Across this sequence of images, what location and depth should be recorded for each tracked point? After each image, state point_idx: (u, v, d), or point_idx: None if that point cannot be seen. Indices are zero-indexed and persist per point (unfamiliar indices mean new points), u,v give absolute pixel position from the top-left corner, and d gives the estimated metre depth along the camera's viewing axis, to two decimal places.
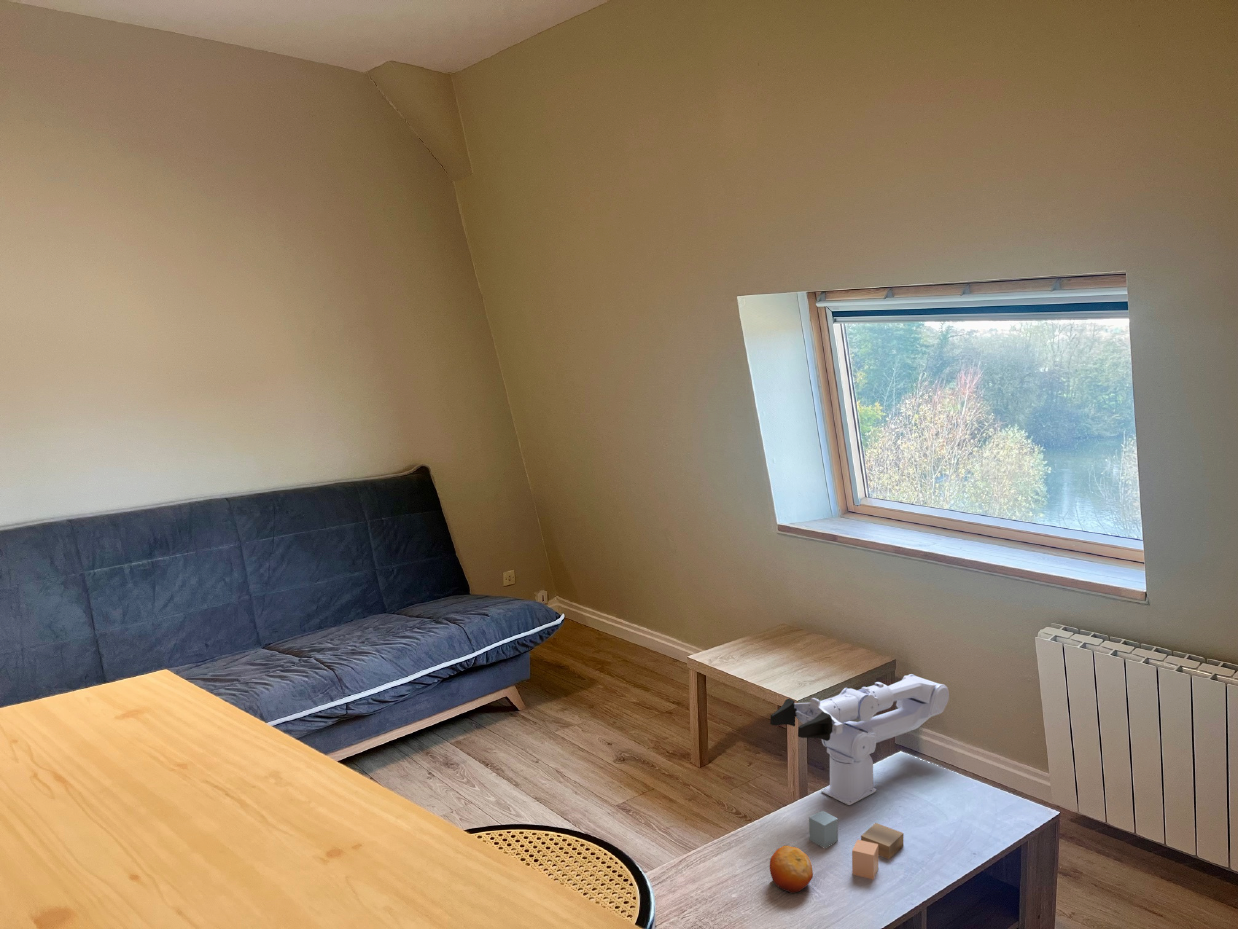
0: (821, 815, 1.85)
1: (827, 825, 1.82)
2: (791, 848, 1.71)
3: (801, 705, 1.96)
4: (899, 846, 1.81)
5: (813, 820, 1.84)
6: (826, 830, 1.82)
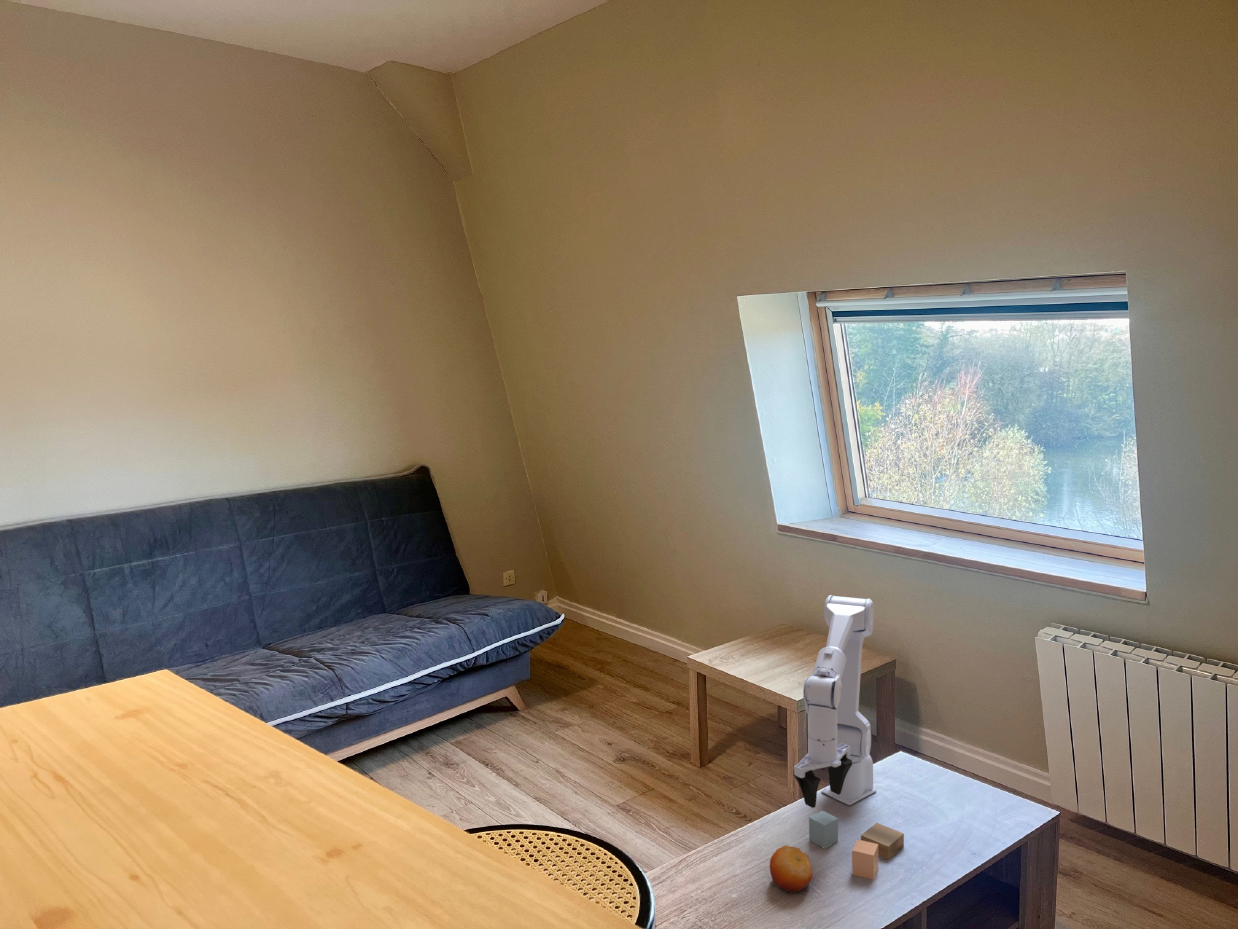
0: (821, 815, 1.85)
1: (827, 825, 1.82)
2: (791, 848, 1.71)
3: None
4: (899, 846, 1.81)
5: (813, 820, 1.84)
6: (826, 830, 1.82)
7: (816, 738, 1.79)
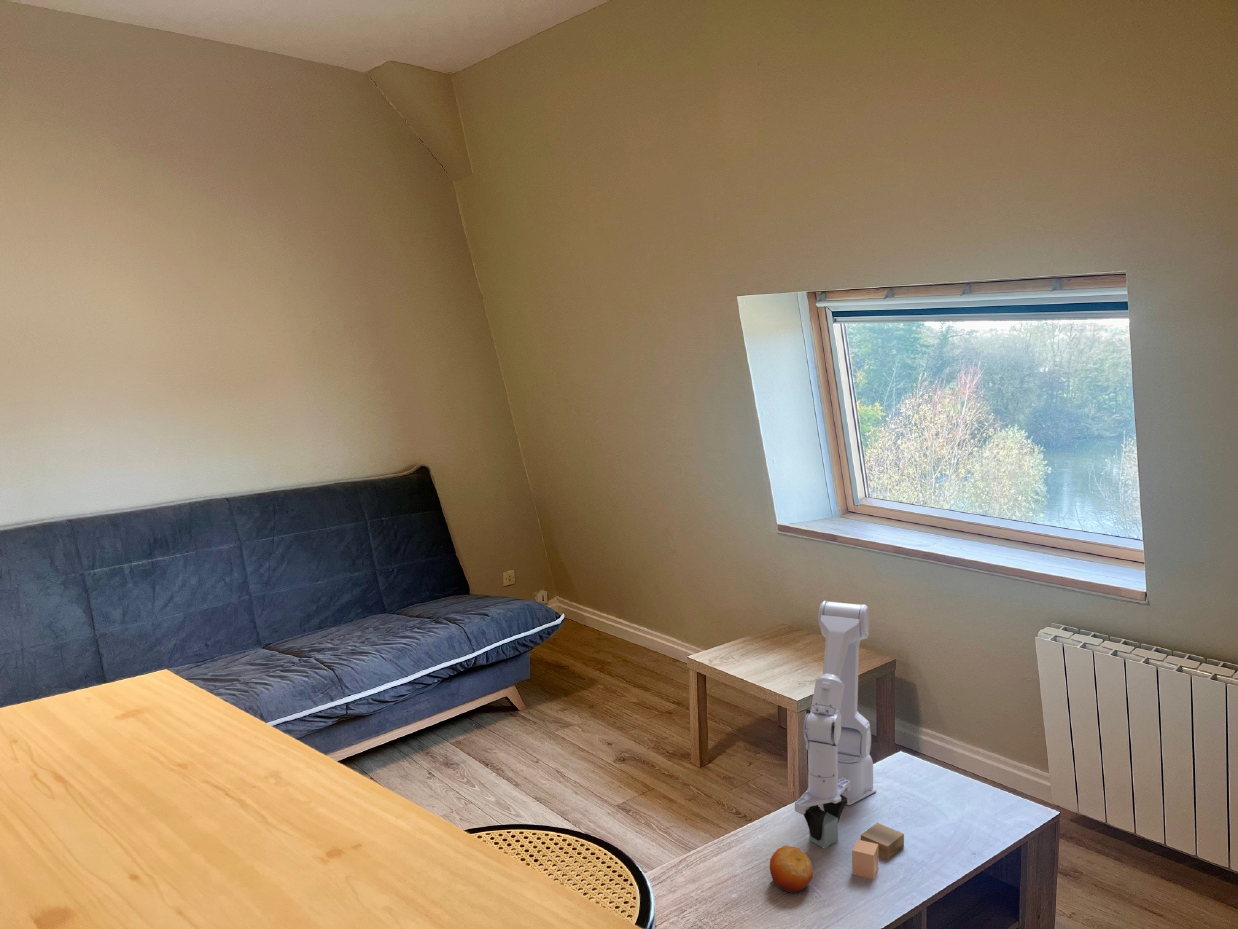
0: None
1: (827, 825, 1.82)
2: (791, 848, 1.71)
3: None
4: (899, 847, 1.80)
5: None
6: (826, 830, 1.82)
7: (816, 774, 1.80)
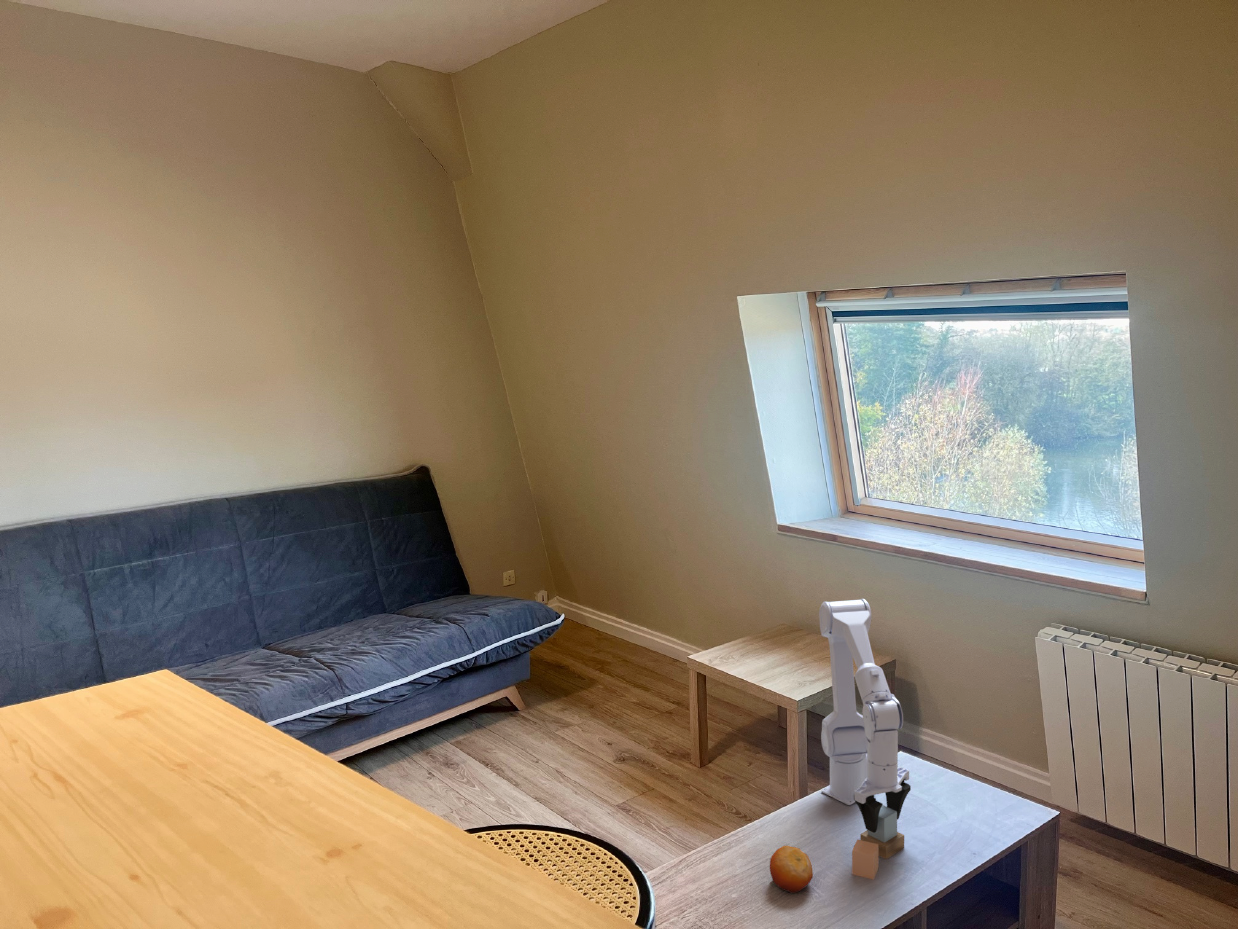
0: None
1: (887, 819, 1.79)
2: (791, 848, 1.71)
3: None
4: (899, 848, 1.80)
5: None
6: (886, 824, 1.79)
7: (885, 764, 1.76)
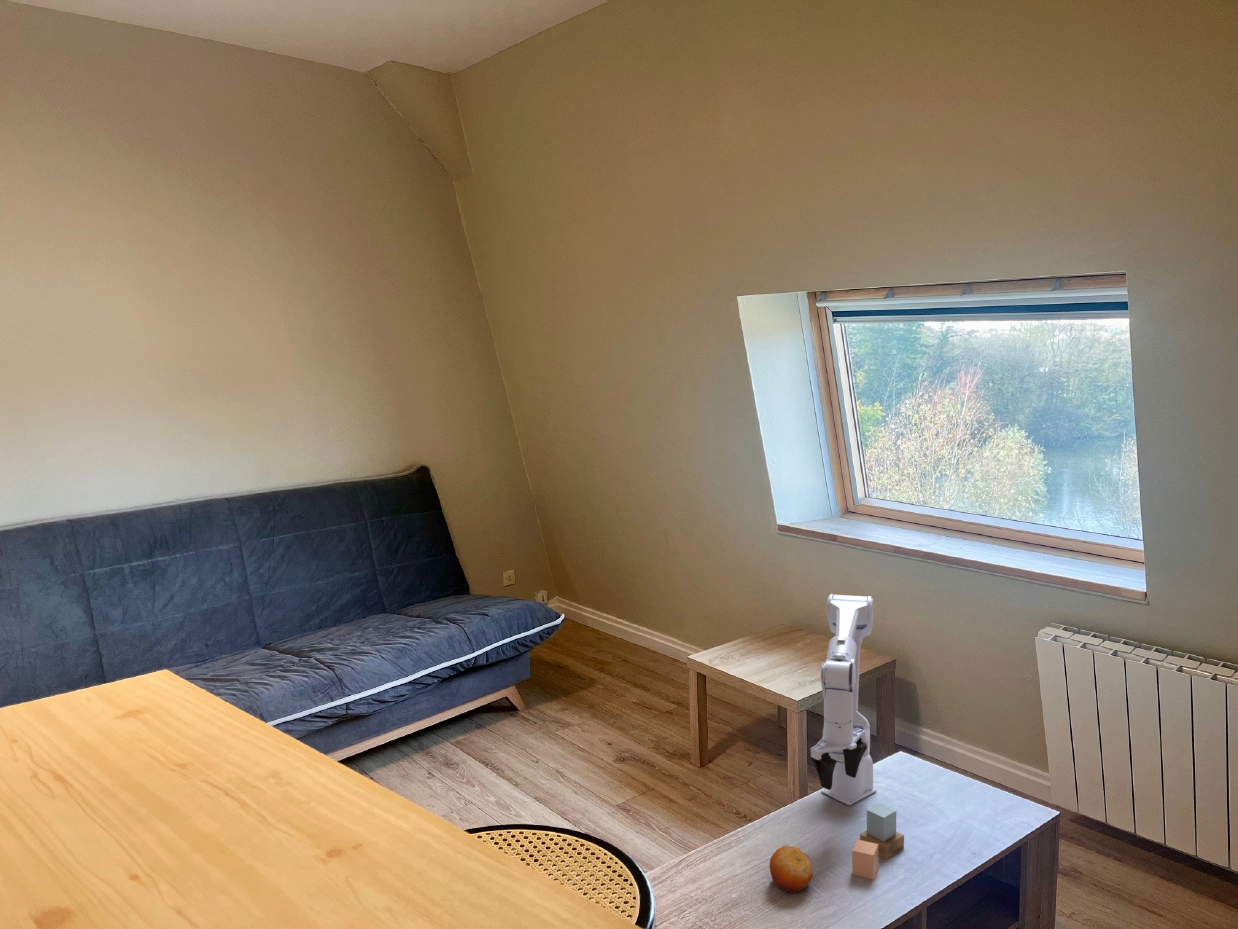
0: (879, 807, 1.82)
1: (886, 818, 1.79)
2: (791, 848, 1.71)
3: None
4: (898, 848, 1.80)
5: (871, 812, 1.81)
6: (886, 823, 1.79)
7: (834, 721, 1.83)
